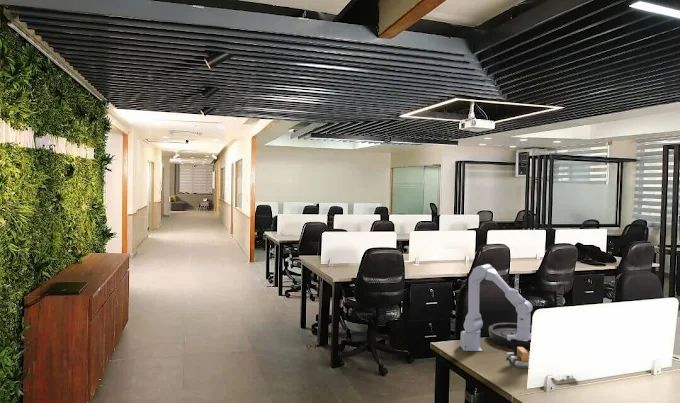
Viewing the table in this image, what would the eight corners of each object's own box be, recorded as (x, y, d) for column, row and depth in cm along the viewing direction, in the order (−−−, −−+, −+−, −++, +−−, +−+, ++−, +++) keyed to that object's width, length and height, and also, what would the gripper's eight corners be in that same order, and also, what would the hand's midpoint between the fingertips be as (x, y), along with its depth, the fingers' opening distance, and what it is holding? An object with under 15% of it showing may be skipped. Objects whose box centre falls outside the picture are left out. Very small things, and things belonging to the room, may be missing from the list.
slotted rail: (516, 368, 212) (516, 362, 211) (507, 357, 225) (507, 352, 224) (538, 368, 211) (538, 363, 211) (527, 357, 224) (527, 352, 224)
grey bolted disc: (533, 332, 263) (481, 331, 263) (534, 322, 263) (481, 321, 263) (558, 352, 233) (499, 351, 233) (558, 340, 233) (499, 339, 233)
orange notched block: (522, 363, 214) (522, 352, 214) (516, 357, 222) (516, 346, 222) (528, 363, 214) (528, 352, 214) (522, 357, 222) (522, 346, 222)
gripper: (511, 329, 213) (510, 358, 214) (542, 330, 213) (541, 358, 214) (505, 324, 220) (504, 352, 221) (536, 325, 220) (535, 353, 221)
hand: (522, 355), depth 218 cm, fingers open, 6 cm apart
